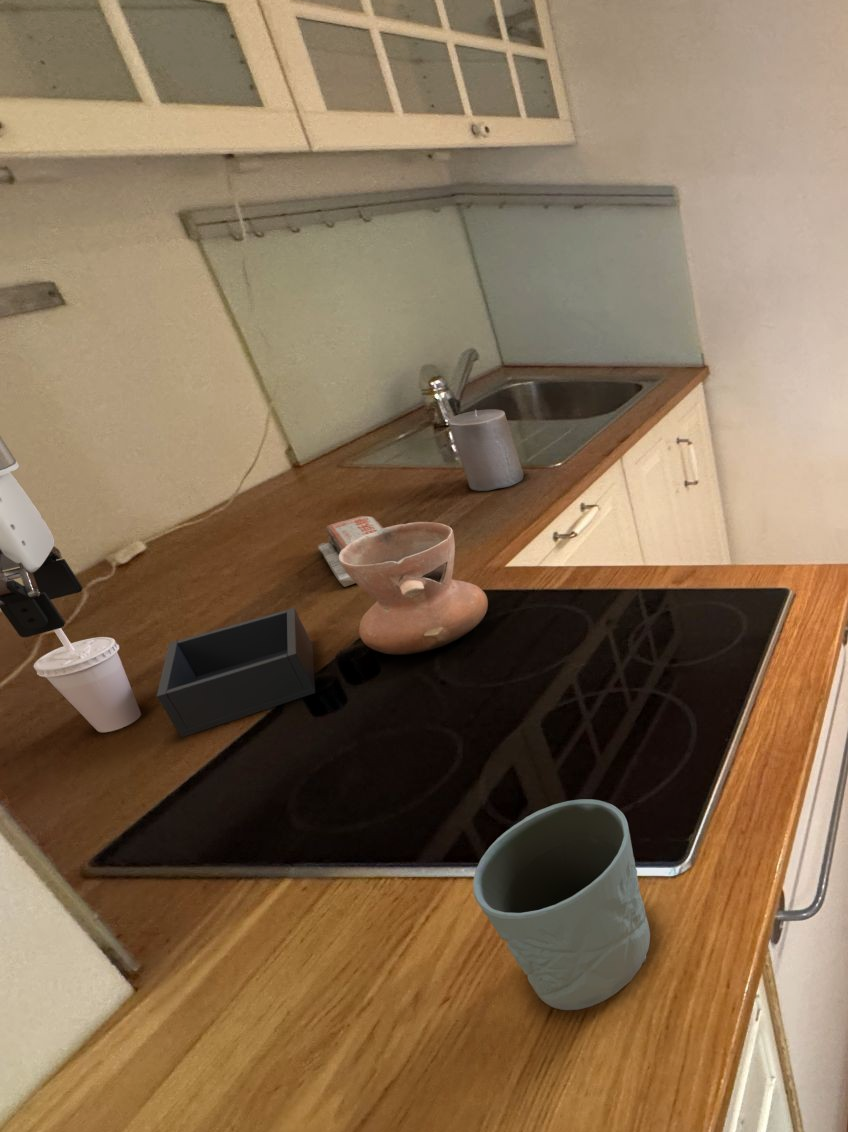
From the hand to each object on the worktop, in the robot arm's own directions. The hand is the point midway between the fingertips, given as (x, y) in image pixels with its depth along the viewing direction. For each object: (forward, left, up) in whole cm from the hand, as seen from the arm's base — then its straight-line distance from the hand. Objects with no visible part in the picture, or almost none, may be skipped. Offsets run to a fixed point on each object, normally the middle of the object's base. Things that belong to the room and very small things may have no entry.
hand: (54, 612), depth 82 cm
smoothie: (0, 0, -15) cm, 15 cm away
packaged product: (+26, +30, -15) cm, 42 cm away
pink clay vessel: (+31, -3, -15) cm, 34 cm away
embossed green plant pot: (+34, -67, -15) cm, 76 cm away
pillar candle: (+49, +53, -15) cm, 74 cm away
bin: (+12, -2, -15) cm, 19 cm away
